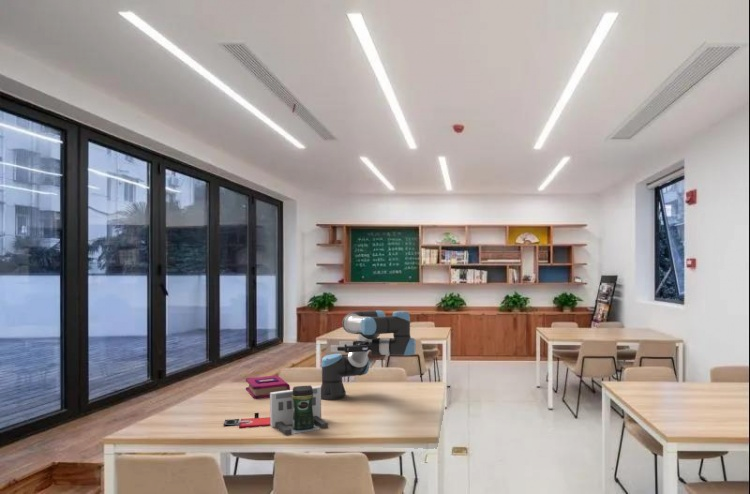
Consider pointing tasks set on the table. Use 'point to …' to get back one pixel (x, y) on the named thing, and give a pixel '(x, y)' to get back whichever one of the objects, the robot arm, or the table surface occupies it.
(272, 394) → the breaker panel
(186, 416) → the table surface
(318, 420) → the cord cover
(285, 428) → the cord cover
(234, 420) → the red board with handle
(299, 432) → the pad
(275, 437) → the table surface
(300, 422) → the coffee jar
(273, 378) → the book
